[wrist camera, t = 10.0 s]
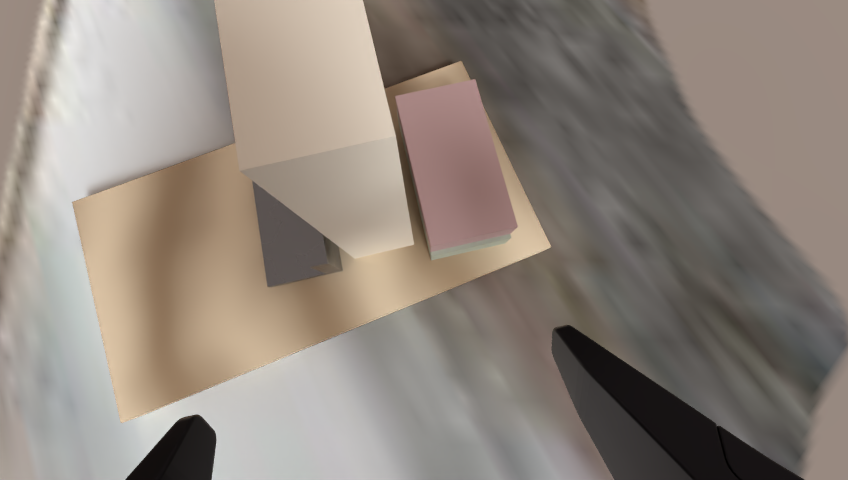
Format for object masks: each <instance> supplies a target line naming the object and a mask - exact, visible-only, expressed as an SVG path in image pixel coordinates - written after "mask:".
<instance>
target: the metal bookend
mask: <svg viewBox="0 0 848 480" xmlns="http://www.w3.org/2000/svg"><path fill="white" fill-rule="evenodd" d="M252 184H253V190H254V197H255V204H256V211H257V218H258V225H259V232H260V239H261V246H262V253H263V260H264V266H265V273H266V280H267V287H275V286H280V285H284V284H288V283H293V282H297V281H301V280H306V279H310V278H315V277H319V276H323V275H328V274H332V273H336V272H341V271H343V268H342V263H341V257H340V252H339V247H338V246H337V245H336V244H335V243H334V242H332V241H331V240H330V239H328V238H327V237H326V236H324V235H323V234H322V233H320V232H319V231H318V230H316V229H315V228H314V227H313V226H311V225H310V224H309V223H307V222H306V221H305V220H303V219H302V218H301V217H299V216H298V215H297V214H295V213H294V212H293V211H292V210H290V209H289V208H288V207H286V206H285V205H284V204H282V203H281V202H280V201H278V200H277V199H276V198H274V197H273V196H272V195H271V194H269V193H268V192H267V191H265V190H264V189H263V188H261V187H260V186H259V185H257V184H256V183H255V182H253V181H252Z"/></svg>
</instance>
